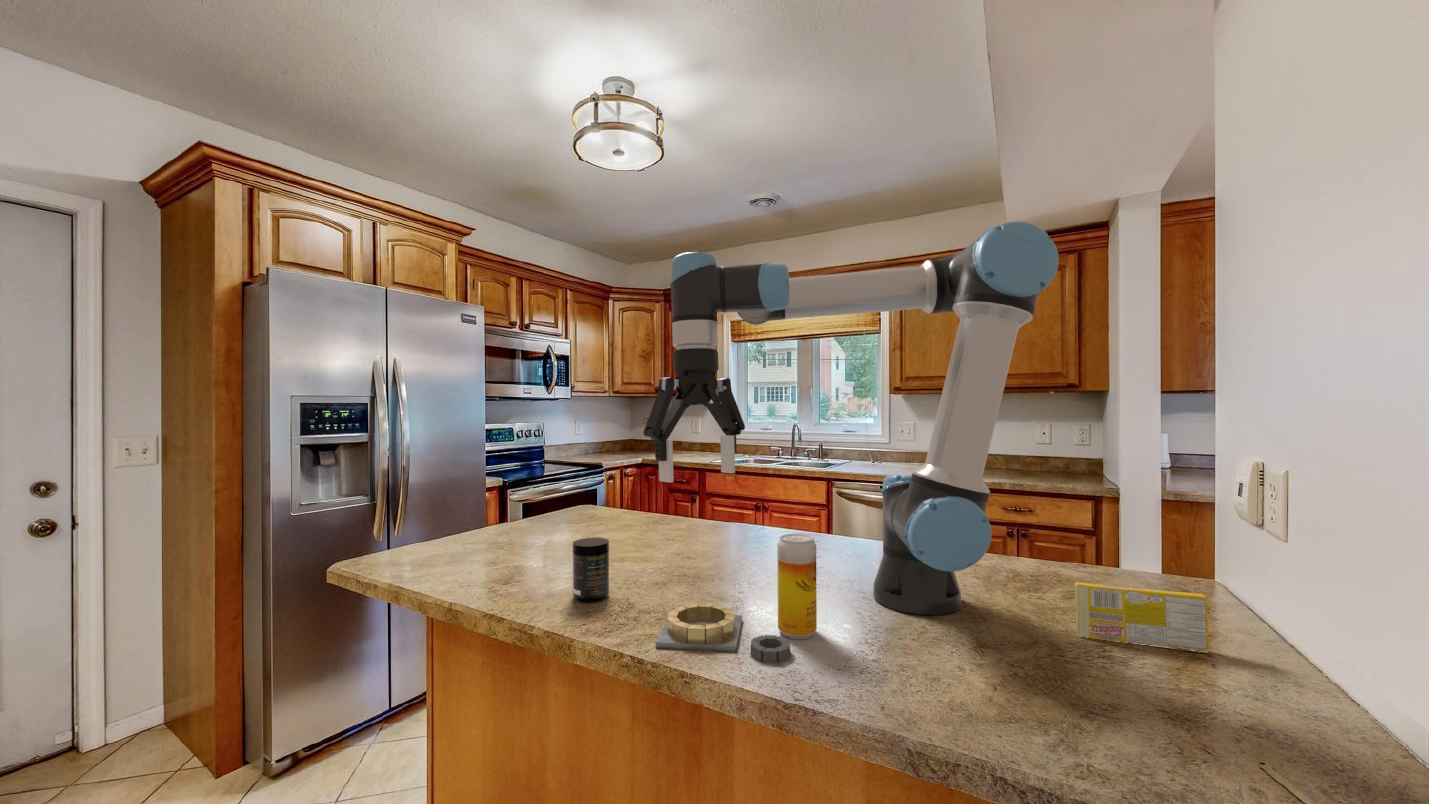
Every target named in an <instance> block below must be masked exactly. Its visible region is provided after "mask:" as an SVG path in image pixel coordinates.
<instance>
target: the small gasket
mask: <svg viewBox="0 0 1429 804" xmlns="http://www.w3.org/2000/svg"><path fill="white" fill-rule="evenodd" d="M750 656H751V657H752V658H754V659H756V660H757V661H759V662H763V663H774V664H775V663H776V664H778V663H781V662H784V661H787V660H789V659H790V658H791V641H790V640H789V639H787V638H784V637H783V636H780V635H779V636H778V635H777V634H776V635H773V634H771V635H770V634H764V635H762V634H761V635H758V636H756V637H753V638H752V639H751V641H750ZM777 662H778V663H777Z"/></svg>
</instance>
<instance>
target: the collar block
mask: <svg viewBox="0 0 1429 804" xmlns="http://www.w3.org/2000/svg"><path fill="white" fill-rule="evenodd" d="M666 619H667V620H666V622H665V624H664V626H663V628H662V630H661V632H660V633H659V635H658V637H657V639H656V641H655V648H658V649H671V650H672V649H673V650H674V649H675V650H695V651H714V652H732V653H733V652H735V653H736V652H737V649H738V643H739V639H740V634H741V633H740V632H741V627H742V623H743V615H742V614H741V615H739V614H736V613H735V612H734V611H732V609H730V608H729V607H727V606H722V605H720V604H719V605H718V604H714V603H692V604H685V605H681V606H678V607H676V608H674V609H672V610H671V611H670V612H669V613H668V616H667V617H666Z"/></svg>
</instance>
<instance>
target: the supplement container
mask: <svg viewBox="0 0 1429 804" xmlns="http://www.w3.org/2000/svg"><path fill="white" fill-rule="evenodd" d="M609 594H610V540H609V539H608V538H606V537H605V538H604V537H585V538H579V539H576V540H574V541H572V597H573V599H574V600H575V601H577V602H580V603H588V604H589V603H590V604H591V603H597V602H601V601H604V600H605V599H607V598H608V597H609Z"/></svg>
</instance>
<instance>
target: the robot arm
mask: <svg viewBox="0 0 1429 804" xmlns="http://www.w3.org/2000/svg"><path fill="white" fill-rule="evenodd" d="M1059 263H1060V262H1059V251H1058V248H1057V246H1056V244H1055V242H1054V241H1053V240H1052V239H1051V237H1050V235H1048V233H1047V232H1046V231H1045V230H1043V229H1042V228H1041V227H1039V226H1037V225H1035V224H1032V223H1031V222H1027V221H1020V220H1019V221H1017V220H1016V221H1007V222H1003V223H1001V224H998V225H996V226H994V227H991V228H989V229H987V230H986V231H984V232H983V233H981V235H980V236H979V237H978V238H977V239H976V240H974V241H973V242H972V243H971V244H970V245H968V246H967V247H966V248H964V249H963V250H961V251H958V252H957V253H955V254H952V255H949V256H946V257H942V258H937V259H927V260H925V261H924V262H923V263H922V264H921V265H920V266H912V267H900V268H899V267H898V268H890V269H889V268H888V269H879V270H878V269H877V270H868V271H856V272H855V271H854V272H844V273H833V274H832V273H831V274H820V275H811V276H799V277H790V274H789V267H788V266H787V265H785V264H784V263H770V262H764V263H759V264H757V263H756V264H741V265H722V266H721V265H717V264H718V263H717V262H716V258H715V256H714V255H713V254H711V253H707V252H698V251H692V252H691V251H690V252H683V253H680V254H678V255H676V256H674V257H673V259H672V261H671V273H670V274H671V276H670V278H671V279H670V286H669V287H670V299H671V302H670V303H671V319H672V320H671V321H672V322H671V323H672V324H671V325H672V327H671V328H672V329H671V330H672V347H674V348H675V350H674V351H673V352H672V366H673V367H672V368H673V369H672V370H673V372H674V373H675V378H674V377H673V376H671V377H660V378H659V381H658V391H657V394H656V397H655V400H654V403H653V406H652V407H651V411H650V414H649V416H648V419H647V421H646V424H645V427H644V428H643V436H644V437H648V438H650V440H652V441H654V451H655V453H654V455H655V456H654V457H655V461H656V462H657V461H658V480H659V482H663V483H674V477H675V476H674V452H673V451H674V447H673V446H674V445H673V440H671V439H669V437H670V436H671V434H672V433H673V431H674V429H675V428H676V426H677V424H678V422H679V421H680V420H681V418H682V416H683V414H684V413H685V411H686V410H687V409H688V408H689V407H690V406H699V405H700V406H701V405H702V406H704V407H705V408H706V409H707V410H708V411H709V413H710V415H711V416H712V417H713V419H714V420H715V421H716V422H715V423H717V425H718V426H719V428H720V429H721V431H722V432H723V434H722V435H721V434H720V435H719V436H720V438H719V439H720V441H719V442H720V444H719V445H720V473H724V474H736V459H735V456H736V455H735V454H736V453H737V435H738V436H739V435H741V434H742V431H745V429H746V424H745V423H744V420H743V417H742V415H741V412H740V410H739V407H738V404H737V402H736V399H735V396H734V394H733V391H732V382H731V379H730V378H729V377H722V378H717V376H716V373H717V372H718V371H719V370H720V369H719V351H718V350H717V349H716V347H718V345H719V338H718V336H719V335H718V334H719V333H718V313H731V312H732V313H734V312H735V313H737V315H738V316H739V317H740V318H741V319H742V320H743V321H744V322H746V323H748V324H751V325H763V324H765V323H767V322H773V321H781V320H782V321H783V320H791V319H804V318H816V317H830V316H831V317H832V316H842V315H844V316H845V315H855V314H867V313H868V314H869V313H881V312H895V311H906V310H907V311H908V310H922V311H923V312H924V313H925V314H942V313H946V314H947V313H948V314H949V313H955V314H956V315H957V317H958V319H959V323H958V326H957V330H956V335H955V339H954V343H953V348H952V351H951V355H950V358H949V363H948V367H947V372H946V376H945V380H944V383H943V384H944V385H943V388H942V392H941V395H940V401H939V405H938V409H937V412H936V416H935V422H934V424H933V430H932V434H931V437H930V442H929V446H928V450H927V454H926V458H925V462H924V463H923V464H922V466H919V467H917V468H916V469H914V470H913V471H912V474H910V475H909V474H908V475H906V474H904V475H903V474H894V475H893V474H889V475H886V476H885V477H884V479H883V482H882V490H881V495H882V545H883V546H882V551H883V553H882V558H881V561H880V564H879V567H878V570H877V573H876V575H875V579H874V581H873V598H874V600H875V601H876V602H877V603H879V604H880V605H882V606H884V607H887V608H889V609H891V610H895V611H899V612H902V613H909V614H914V615H925V616H935V615H937V616H938V615H939V616H940V615H947V614H951V613H954V612H957V611H958V610H960V609H961V608H962V591H961V589H960V585H959V583H958V579H957V576H956V574H955V572H959V571H963V570H966V569H968V568H970V567H973V566H974V565H976V564H977V563H978V562H979V561H981V559H983V558H984V556H985V554H986V553H987V552H988V550H989V548H990V545H991V541H992V528H991V527H992V526H991V523H990V521H989V518H988V516H987V515H986V510H987V508H988V507H987V505H988V502H989V498H990V494H991V491H990V489H989V487H988V486H987V484H986V483H985V481H984V479H983V478H984V477H983V476H984V471H985V467H986V463H987V459H988V457H989V455H988V454H989V451H990V447H991V443H992V439H993V435H994V431H995V426H996V422H997V418H998V415H999V411H1000V405H1001V403H1002V398H1003V395H1004V390H1005V385H1006V381H1007V377H1008V373H1009V369H1010V365H1011V361H1012V357H1013V354H1014V349H1015V345H1016V341H1017V337H1018V332H1019V329H1020V328H1022V326H1025V325H1026V324H1028V323H1029V322H1031V321H1033V318H1034V314H1035V310H1036V306H1037V303H1038V298H1039V293H1040V292H1042V291H1044V290H1045V289H1046V288H1048V286H1049V285H1050V284H1051V282H1052V281H1053V279H1054V278H1055V276H1056V274H1057V272H1058V268H1059ZM675 390H676V394H675V396H674V392H675ZM673 397H674V398H673Z"/></svg>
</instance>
